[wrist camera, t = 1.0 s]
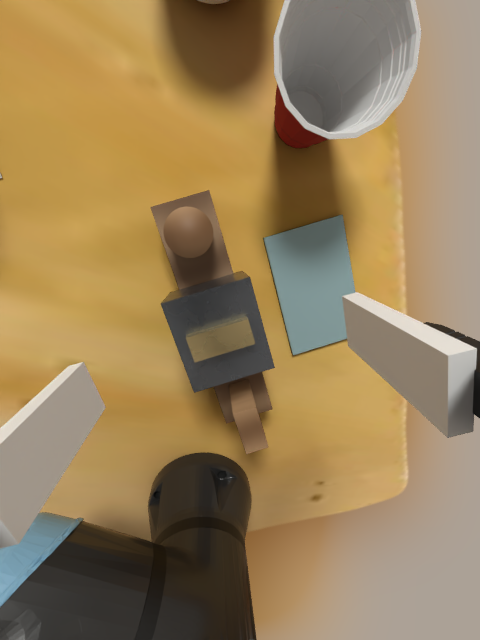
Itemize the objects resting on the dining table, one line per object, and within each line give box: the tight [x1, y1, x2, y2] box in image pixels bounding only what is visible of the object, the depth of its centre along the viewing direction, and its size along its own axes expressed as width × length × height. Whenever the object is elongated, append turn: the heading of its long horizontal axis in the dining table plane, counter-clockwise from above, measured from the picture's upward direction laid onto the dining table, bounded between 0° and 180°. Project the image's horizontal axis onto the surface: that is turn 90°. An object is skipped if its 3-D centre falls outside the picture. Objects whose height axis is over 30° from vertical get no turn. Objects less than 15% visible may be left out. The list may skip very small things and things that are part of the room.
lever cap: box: [161, 271, 275, 393], centre depth 27 cm, size 9×8×7 cm
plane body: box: [151, 190, 272, 454], centre depth 30 cm, size 26×6×11 cm, turn 16°
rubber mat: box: [263, 215, 355, 355], centre depth 36 cm, size 16×10×1 cm, turn 16°
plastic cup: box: [274, 0, 421, 148], centre depth 25 cm, size 11×11×12 cm
